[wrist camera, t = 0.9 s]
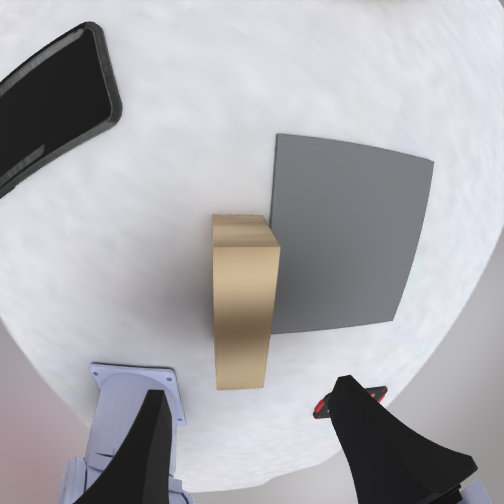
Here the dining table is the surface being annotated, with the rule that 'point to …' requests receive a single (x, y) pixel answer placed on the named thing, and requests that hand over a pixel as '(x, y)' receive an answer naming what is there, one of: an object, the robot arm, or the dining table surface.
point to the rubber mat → (343, 231)
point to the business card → (322, 407)
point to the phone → (56, 103)
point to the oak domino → (243, 298)
